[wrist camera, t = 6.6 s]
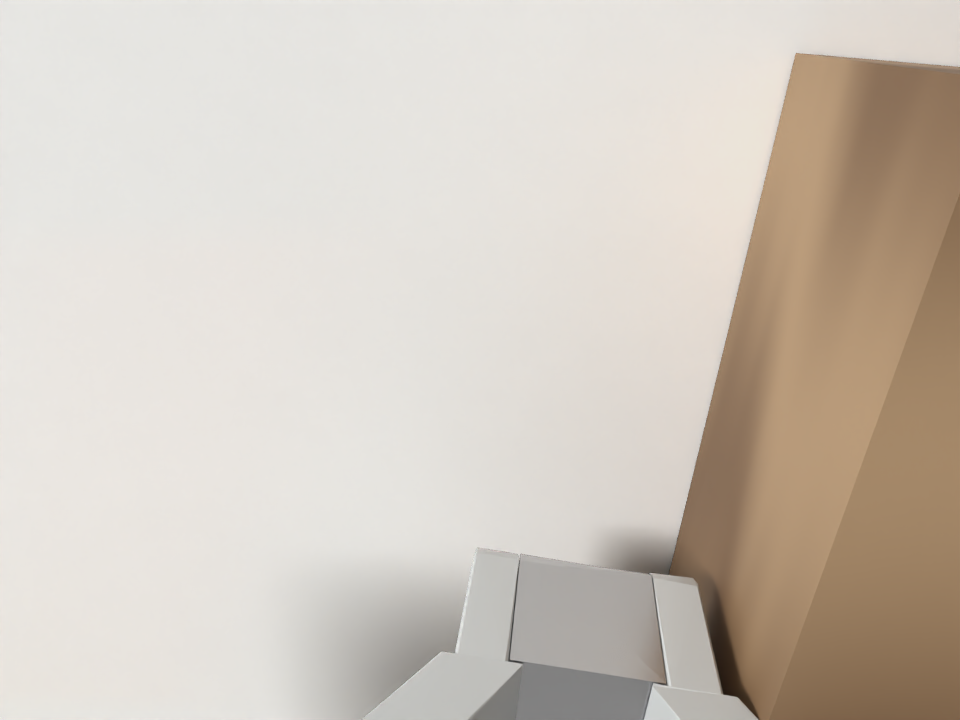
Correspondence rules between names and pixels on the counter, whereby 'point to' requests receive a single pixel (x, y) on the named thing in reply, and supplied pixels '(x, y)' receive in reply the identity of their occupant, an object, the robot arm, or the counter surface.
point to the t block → (841, 411)
